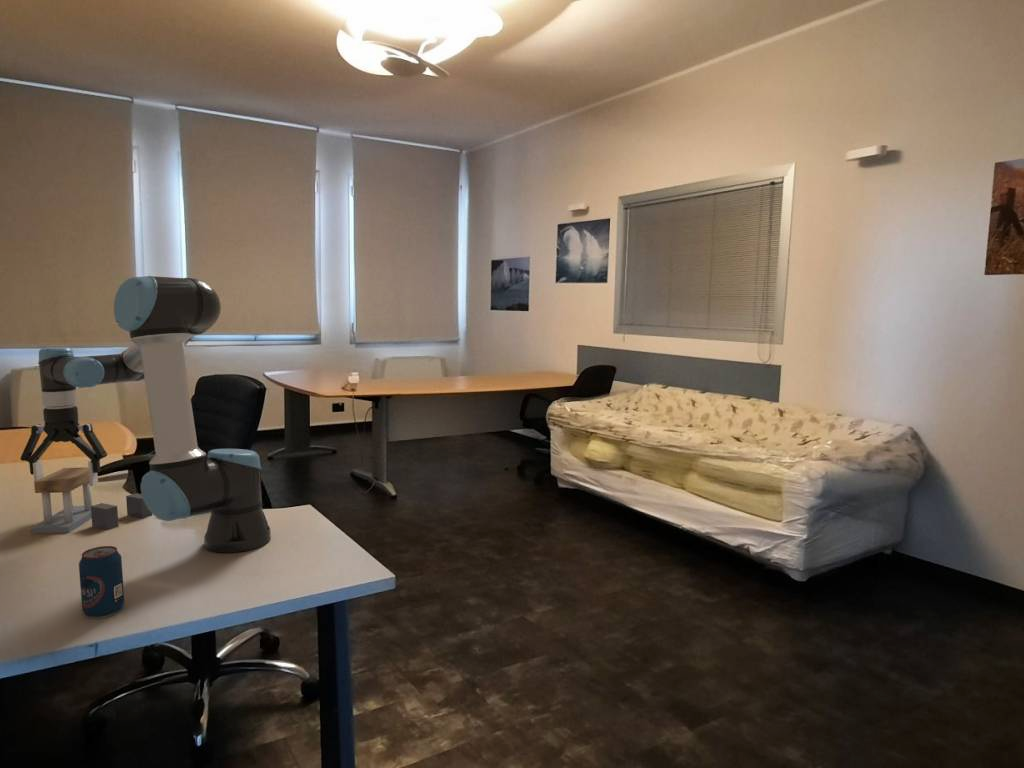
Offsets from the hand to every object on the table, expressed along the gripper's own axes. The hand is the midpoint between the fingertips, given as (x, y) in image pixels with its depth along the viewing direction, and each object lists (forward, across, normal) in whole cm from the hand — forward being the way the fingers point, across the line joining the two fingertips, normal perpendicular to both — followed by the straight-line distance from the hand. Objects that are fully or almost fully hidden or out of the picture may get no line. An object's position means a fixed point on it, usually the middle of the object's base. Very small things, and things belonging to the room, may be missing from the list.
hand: (66, 485), depth 178 cm
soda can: (+10, -34, +56) cm, 66 cm away
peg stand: (+10, 0, 0) cm, 10 cm away
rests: (+10, -14, 0) cm, 17 cm away
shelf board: (0, 0, 0) cm, 0 cm away
